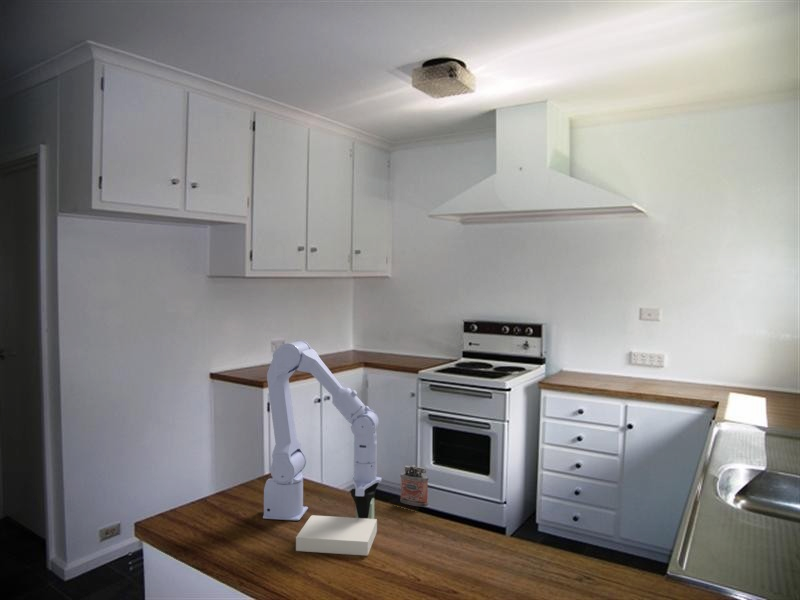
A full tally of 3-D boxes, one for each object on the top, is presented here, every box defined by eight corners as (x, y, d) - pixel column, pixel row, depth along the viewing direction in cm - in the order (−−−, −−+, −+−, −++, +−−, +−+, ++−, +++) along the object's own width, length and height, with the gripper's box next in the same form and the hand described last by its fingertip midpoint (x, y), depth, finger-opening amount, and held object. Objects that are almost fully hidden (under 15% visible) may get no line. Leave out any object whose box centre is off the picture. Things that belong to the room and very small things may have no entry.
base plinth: (295, 550, 121) (296, 537, 121) (311, 527, 133) (311, 515, 133) (367, 555, 119) (367, 541, 119) (376, 531, 131) (377, 519, 131)
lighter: (397, 502, 150) (398, 465, 150) (403, 498, 153) (403, 462, 153) (424, 507, 146) (425, 470, 146) (430, 503, 149) (430, 466, 149)
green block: (355, 523, 136) (355, 503, 136) (358, 516, 140) (358, 497, 140) (371, 524, 136) (371, 504, 136) (374, 517, 140) (374, 498, 139)
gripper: (376, 470, 130) (376, 527, 130) (385, 452, 144) (385, 504, 145) (346, 469, 131) (346, 526, 131) (359, 451, 145) (358, 502, 145)
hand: (365, 514), depth 138 cm, fingers open, 4 cm apart
